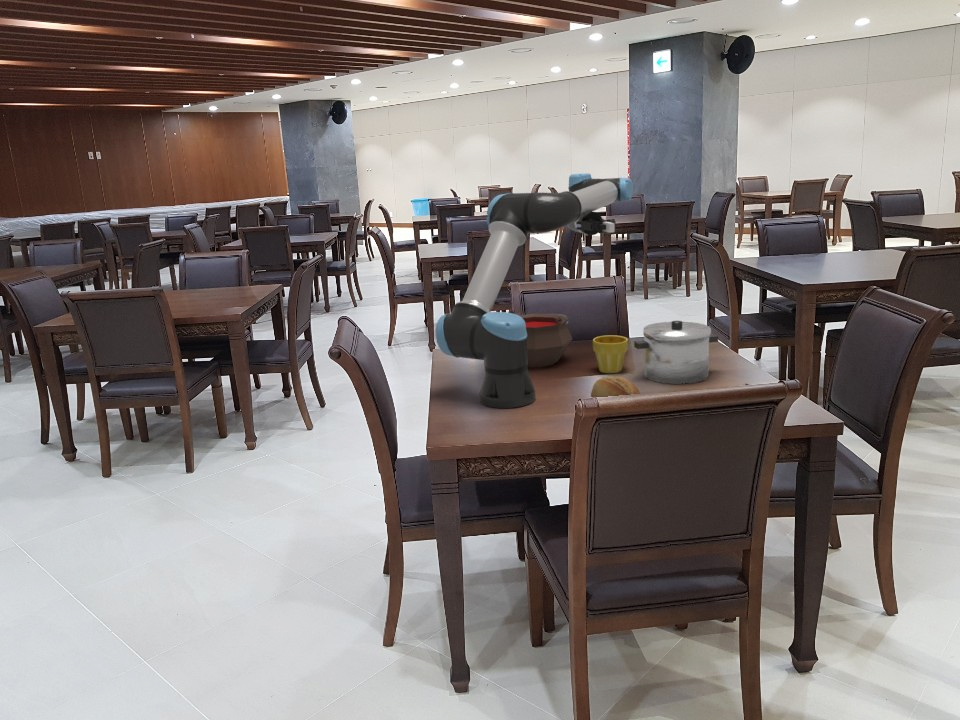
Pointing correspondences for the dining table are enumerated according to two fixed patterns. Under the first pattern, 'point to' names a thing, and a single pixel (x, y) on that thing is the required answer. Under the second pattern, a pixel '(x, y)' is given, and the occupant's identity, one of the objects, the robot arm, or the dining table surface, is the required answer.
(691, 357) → the pressure cooker
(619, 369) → the plant pot
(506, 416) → the dining table surface
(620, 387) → the bread roll
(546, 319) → the brown clay bowl
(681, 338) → the cooker lid
